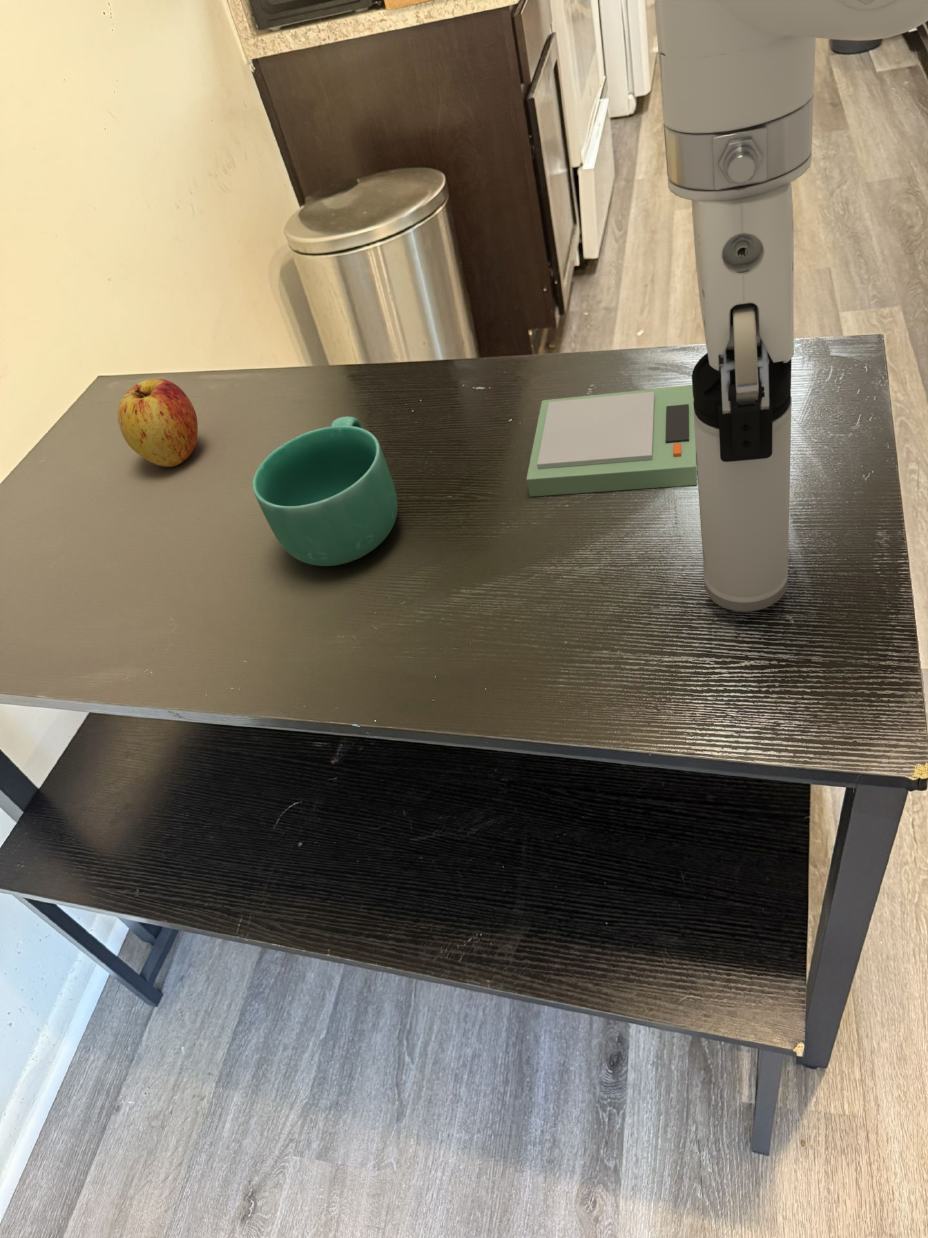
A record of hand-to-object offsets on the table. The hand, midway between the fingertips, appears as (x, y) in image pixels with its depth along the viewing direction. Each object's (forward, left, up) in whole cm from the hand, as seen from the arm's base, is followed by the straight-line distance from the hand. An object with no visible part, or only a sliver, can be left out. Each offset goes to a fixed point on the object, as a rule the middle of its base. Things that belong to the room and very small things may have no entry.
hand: (743, 424), depth 59 cm
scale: (+11, -22, -17) cm, 30 cm away
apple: (+65, -28, -17) cm, 73 cm away
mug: (+37, -12, -17) cm, 43 cm away
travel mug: (0, 0, -15) cm, 15 cm away
